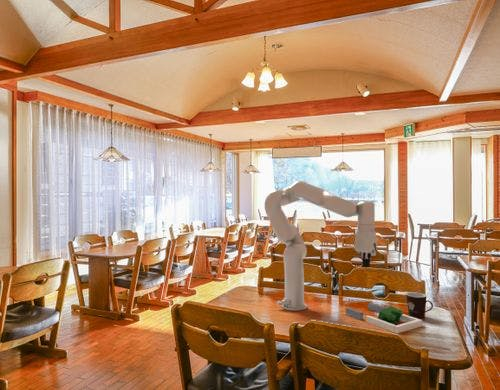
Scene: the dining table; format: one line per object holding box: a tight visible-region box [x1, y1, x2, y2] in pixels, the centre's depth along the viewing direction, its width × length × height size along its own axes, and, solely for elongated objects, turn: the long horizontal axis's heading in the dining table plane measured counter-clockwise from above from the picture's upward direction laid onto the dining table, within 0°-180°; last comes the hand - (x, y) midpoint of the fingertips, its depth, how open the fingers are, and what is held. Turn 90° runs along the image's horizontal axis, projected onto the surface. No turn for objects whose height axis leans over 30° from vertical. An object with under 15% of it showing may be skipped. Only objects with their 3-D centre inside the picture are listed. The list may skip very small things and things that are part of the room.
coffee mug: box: [405, 291, 434, 320], centre depth 165 cm, size 12×9×10 cm
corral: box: [365, 313, 423, 334], centre depth 157 cm, size 16×16×2 cm
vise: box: [345, 302, 391, 321], centre depth 172 cm, size 23×9×3 cm, turn 120°
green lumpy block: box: [377, 305, 404, 325], centre depth 159 cm, size 12×6×9 cm, turn 128°
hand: (366, 266), depth 170 cm, fingers closed
